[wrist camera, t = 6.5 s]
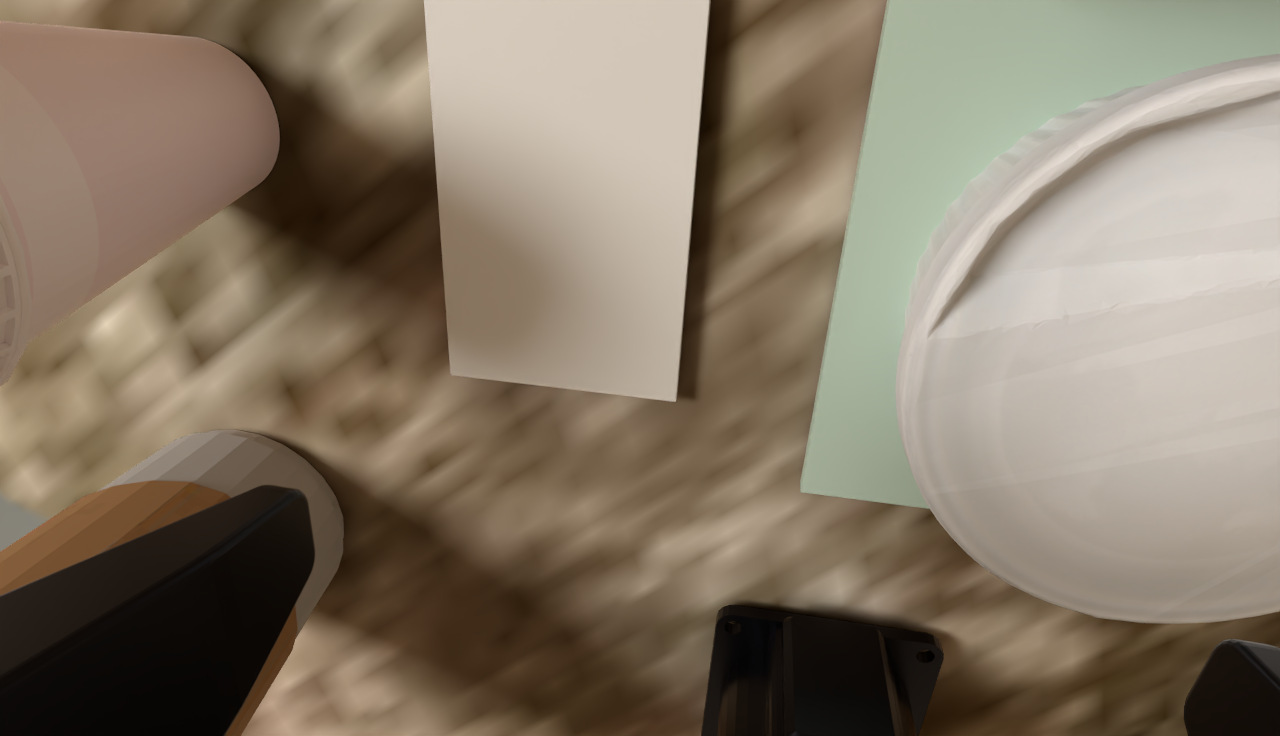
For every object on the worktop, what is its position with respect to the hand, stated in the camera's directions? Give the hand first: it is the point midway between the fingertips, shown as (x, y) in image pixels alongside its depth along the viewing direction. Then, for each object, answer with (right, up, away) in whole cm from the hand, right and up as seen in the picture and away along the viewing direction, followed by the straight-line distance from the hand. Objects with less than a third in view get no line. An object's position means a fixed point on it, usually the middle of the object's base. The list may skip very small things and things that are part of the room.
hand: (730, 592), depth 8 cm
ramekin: (+10, +4, +11) cm, 16 cm away
